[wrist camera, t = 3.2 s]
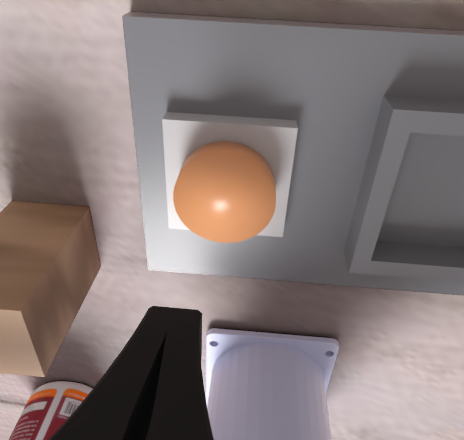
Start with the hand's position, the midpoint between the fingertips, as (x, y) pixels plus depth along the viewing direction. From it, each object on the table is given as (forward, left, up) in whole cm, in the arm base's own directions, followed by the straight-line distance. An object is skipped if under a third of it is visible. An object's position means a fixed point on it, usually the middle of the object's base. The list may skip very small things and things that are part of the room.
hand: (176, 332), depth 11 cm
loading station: (+1, -6, -9) cm, 11 cm away
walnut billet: (-4, +8, -9) cm, 13 cm away
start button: (0, -1, -7) cm, 7 cm away
